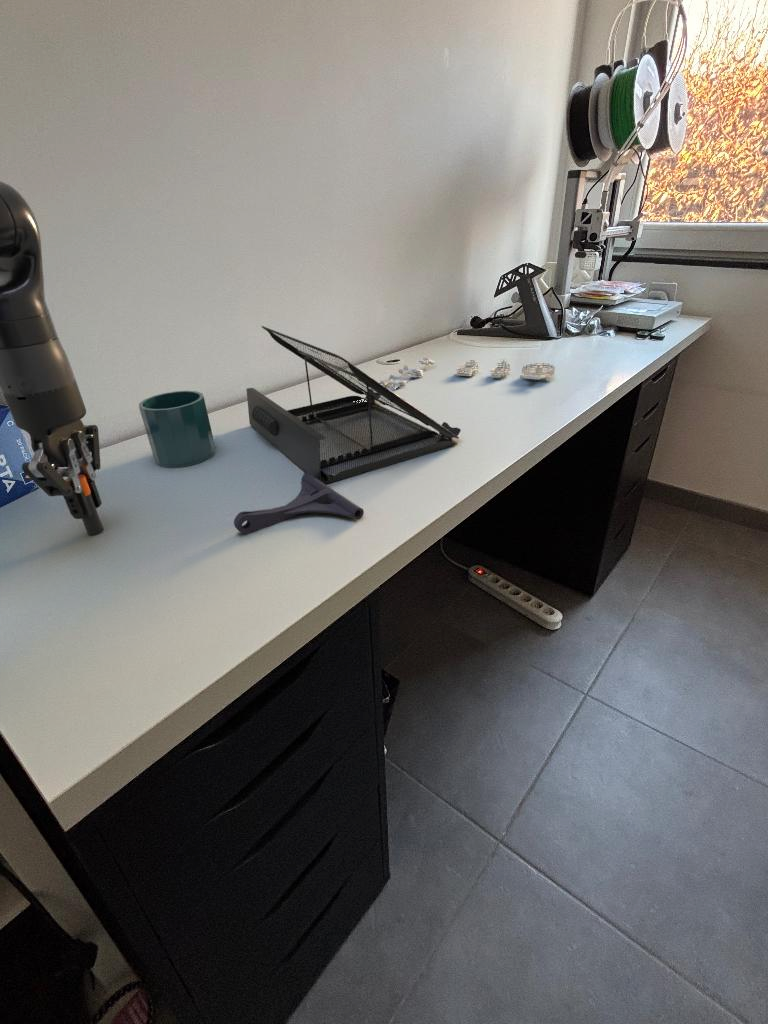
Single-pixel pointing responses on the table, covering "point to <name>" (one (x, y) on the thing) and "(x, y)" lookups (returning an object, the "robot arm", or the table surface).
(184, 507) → the table surface
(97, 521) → the marker
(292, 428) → the laptop stand
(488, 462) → the table surface
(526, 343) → the table surface
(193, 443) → the pen pot
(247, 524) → the bracket
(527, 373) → the drone parts
